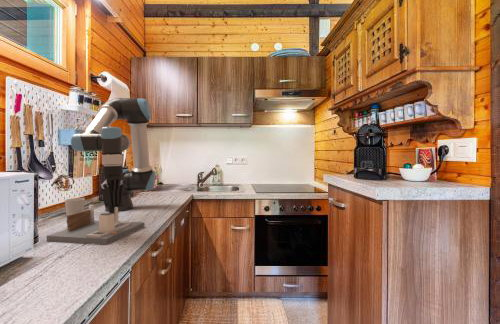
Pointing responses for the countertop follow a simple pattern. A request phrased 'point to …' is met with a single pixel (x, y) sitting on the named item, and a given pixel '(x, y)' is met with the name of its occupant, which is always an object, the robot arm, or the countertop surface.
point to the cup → (74, 205)
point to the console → (95, 232)
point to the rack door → (78, 219)
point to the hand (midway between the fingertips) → (114, 222)
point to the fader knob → (106, 222)
